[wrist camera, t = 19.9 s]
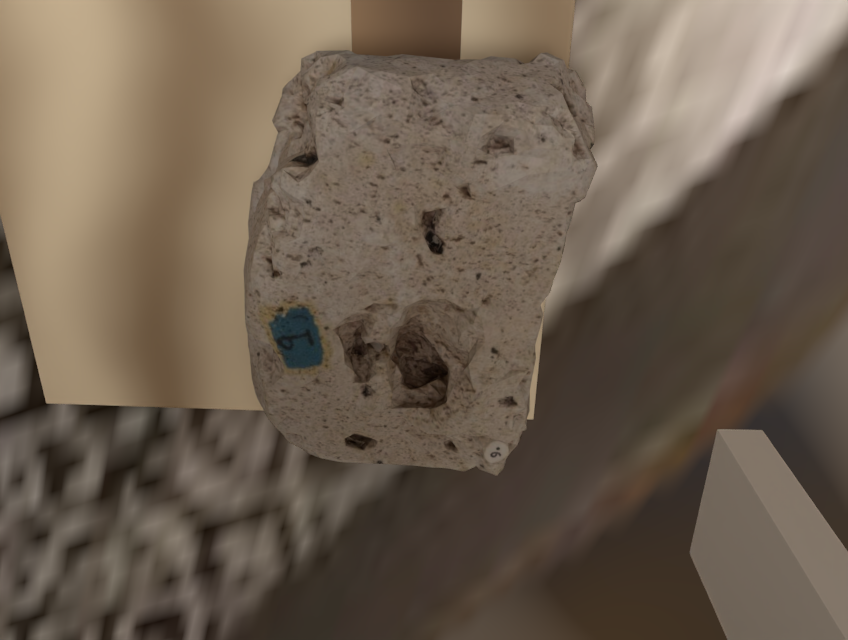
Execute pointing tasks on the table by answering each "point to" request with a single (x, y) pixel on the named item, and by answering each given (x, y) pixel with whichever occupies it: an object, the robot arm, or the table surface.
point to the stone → (411, 252)
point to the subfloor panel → (179, 169)
